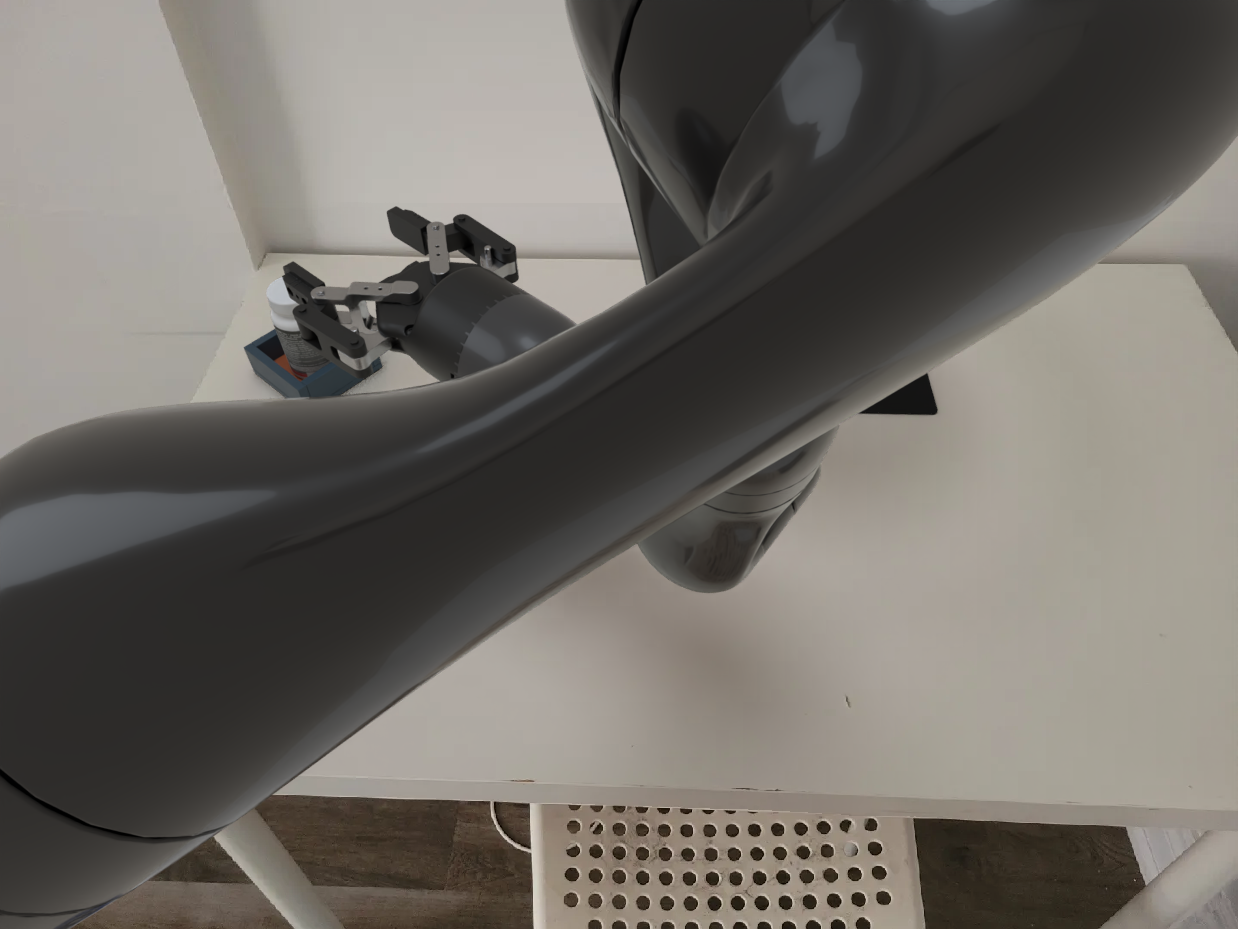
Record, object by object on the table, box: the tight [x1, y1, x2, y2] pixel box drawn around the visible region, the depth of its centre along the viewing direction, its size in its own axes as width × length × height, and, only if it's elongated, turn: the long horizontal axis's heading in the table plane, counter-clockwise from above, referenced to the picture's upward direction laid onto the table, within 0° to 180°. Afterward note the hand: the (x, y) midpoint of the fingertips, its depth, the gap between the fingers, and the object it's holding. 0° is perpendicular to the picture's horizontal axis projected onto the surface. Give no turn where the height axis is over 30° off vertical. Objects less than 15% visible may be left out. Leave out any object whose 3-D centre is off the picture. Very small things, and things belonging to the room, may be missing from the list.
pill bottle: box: [265, 276, 331, 379], centre depth 75 cm, size 5×5×8 cm
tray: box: [243, 328, 383, 398], centre depth 78 cm, size 8×8×3 cm
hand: (342, 246), depth 60 cm, fingers open, 8 cm apart
